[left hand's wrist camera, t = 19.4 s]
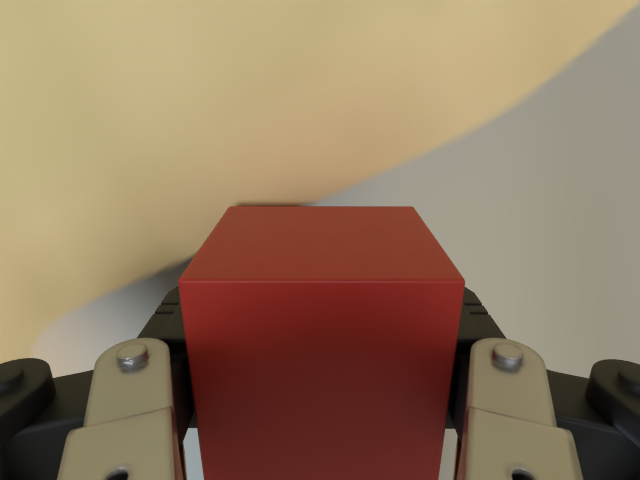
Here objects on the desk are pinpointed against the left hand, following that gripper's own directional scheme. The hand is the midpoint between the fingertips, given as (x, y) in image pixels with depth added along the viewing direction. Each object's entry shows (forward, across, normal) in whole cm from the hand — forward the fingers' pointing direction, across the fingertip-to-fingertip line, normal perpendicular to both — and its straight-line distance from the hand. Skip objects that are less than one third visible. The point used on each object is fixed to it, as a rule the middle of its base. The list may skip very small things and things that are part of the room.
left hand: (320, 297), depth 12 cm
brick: (+1, 0, 0) cm, 1 cm away
